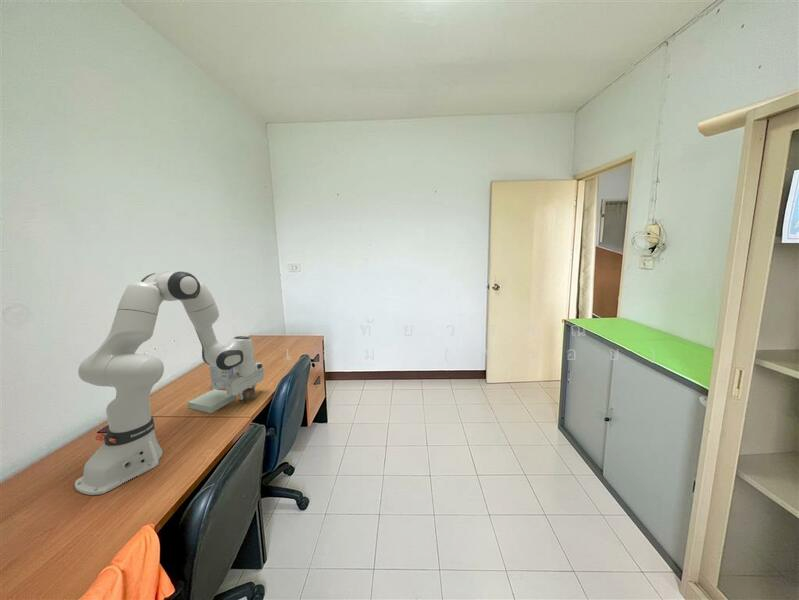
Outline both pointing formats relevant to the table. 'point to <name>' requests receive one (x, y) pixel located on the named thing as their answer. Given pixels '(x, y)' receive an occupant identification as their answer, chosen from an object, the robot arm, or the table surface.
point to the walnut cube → (248, 395)
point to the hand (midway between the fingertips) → (247, 396)
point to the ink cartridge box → (220, 377)
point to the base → (211, 401)
